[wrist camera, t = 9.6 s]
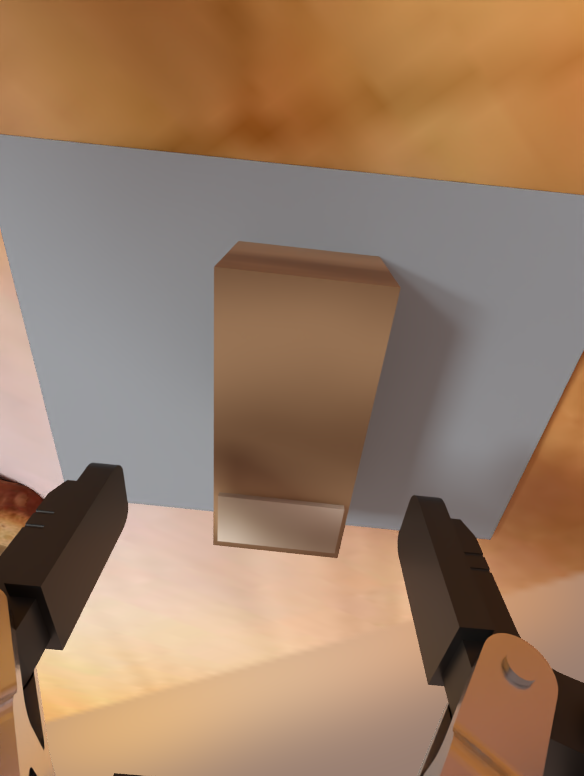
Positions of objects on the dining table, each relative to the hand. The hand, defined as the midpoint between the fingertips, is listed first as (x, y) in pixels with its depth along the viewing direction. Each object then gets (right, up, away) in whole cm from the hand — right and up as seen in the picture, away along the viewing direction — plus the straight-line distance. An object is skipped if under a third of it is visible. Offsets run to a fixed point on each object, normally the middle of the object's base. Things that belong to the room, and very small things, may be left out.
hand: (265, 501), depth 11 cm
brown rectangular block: (+1, +3, +6) cm, 7 cm away
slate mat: (+1, +4, +6) cm, 7 cm away
